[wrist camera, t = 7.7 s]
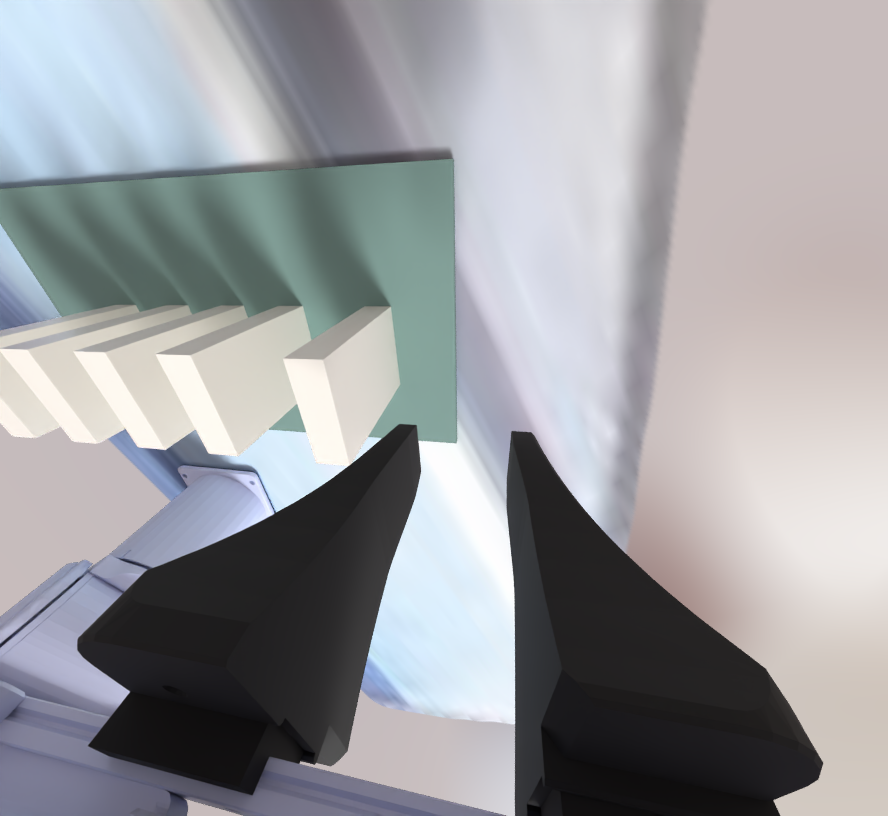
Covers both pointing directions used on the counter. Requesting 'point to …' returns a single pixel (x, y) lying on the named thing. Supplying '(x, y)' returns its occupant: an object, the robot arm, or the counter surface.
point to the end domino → (8, 394)
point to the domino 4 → (345, 382)
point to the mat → (267, 258)
